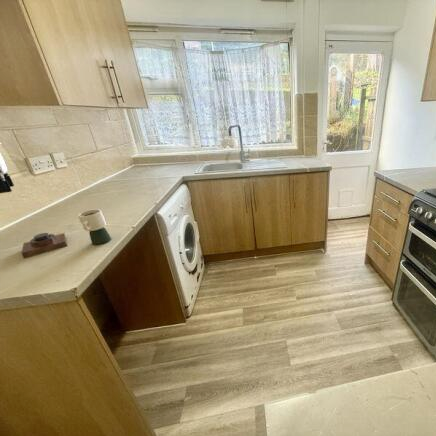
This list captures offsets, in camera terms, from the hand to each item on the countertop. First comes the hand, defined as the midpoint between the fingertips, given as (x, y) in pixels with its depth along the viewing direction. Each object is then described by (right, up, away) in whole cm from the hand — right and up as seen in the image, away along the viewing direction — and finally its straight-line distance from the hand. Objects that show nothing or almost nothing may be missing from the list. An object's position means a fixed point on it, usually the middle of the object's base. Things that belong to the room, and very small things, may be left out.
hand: (6, 189), depth 88 cm
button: (+8, -19, +5) cm, 21 cm away
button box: (+8, -22, +6) cm, 24 cm away
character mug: (+28, -20, +9) cm, 36 cm away
